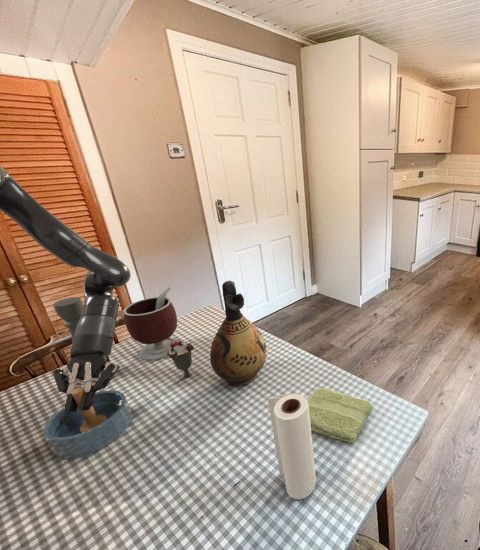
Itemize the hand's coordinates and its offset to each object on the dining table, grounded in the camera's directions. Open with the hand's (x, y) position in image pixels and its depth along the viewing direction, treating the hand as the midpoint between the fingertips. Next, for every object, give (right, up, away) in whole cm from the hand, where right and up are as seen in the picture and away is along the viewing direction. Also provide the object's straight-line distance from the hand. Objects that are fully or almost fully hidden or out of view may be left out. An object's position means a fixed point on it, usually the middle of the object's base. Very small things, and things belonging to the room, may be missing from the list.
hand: (78, 410), depth 70 cm
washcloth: (+58, -6, +8) cm, 59 cm away
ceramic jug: (+28, +1, +24) cm, 37 cm away
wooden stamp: (0, -6, +5) cm, 8 cm away
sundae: (+12, 0, +22) cm, 25 cm away
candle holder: (-17, 0, +24) cm, 30 cm away
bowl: (+1, -7, +4) cm, 8 cm away
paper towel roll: (+53, -12, -7) cm, 55 cm away
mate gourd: (-5, +5, +36) cm, 37 cm away
